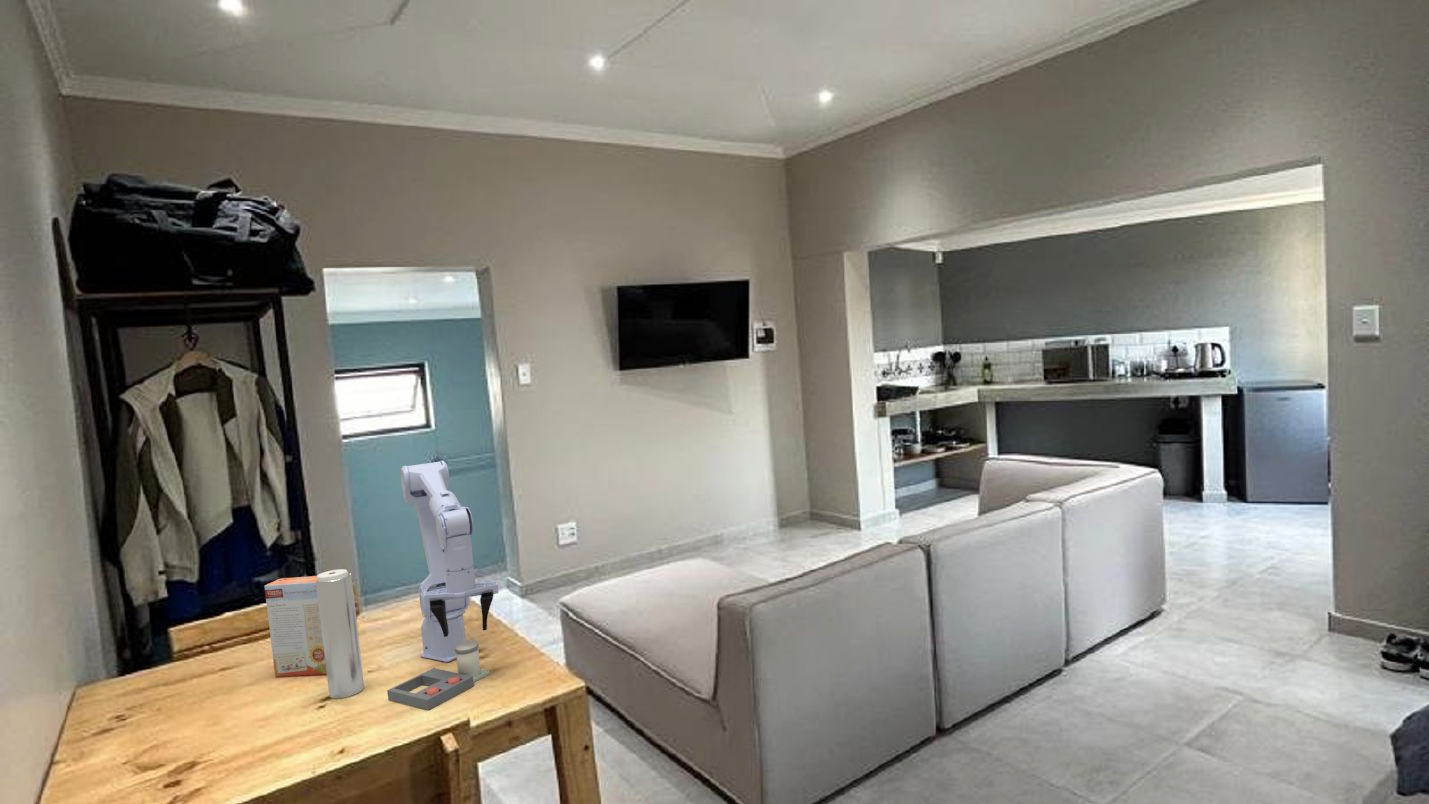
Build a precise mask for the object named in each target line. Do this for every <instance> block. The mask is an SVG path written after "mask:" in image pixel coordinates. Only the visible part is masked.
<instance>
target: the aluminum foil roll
mask: <svg viewBox="0 0 1429 804" xmlns="http://www.w3.org/2000/svg"><path fill="white" fill-rule="evenodd" d="M316 576H317V581H316V587H317V596H318V604H319V613H320V621H321V630H322V638H323V647H324V655H325V664H326V672H327V674H326V681H327V687H328V697H330V698H331V699H337V700H338V698H339V699H346V698H349V696H350V697H352V696H351V695H353V696H354V694H355V695H357V694H359V693H360V692H362V691H363V690H364V688H365V683H364V681H365V680H364V674H363V666H362V656H361V647H360V638H359V631H358V630H359V629H358V623H357V621H358V620H357V610H356V603H355V594H354V587H353V577H352V573H351V572H348V570H347V569H346V568H345V569H343V568H341V569H332V570H328V571H327V570H326V571H324V572H321V573H319V574H317V575H316ZM345 697H346V698H345Z"/></svg>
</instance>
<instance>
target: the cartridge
mask: <svg viewBox="0 0 1429 804" xmlns="http://www.w3.org/2000/svg"><path fill="white" fill-rule="evenodd" d="M455 653H456V664H457V665H456V667H457V673H459V674H464V675H469V676H473V678H474V677H477V676H478V675H480V673H481V670H482V669H481V662H480V653H479V642H478V640H475V639H469V640H467V639H466V641H463V642H460V643H458V644H457V645H456V646H455ZM480 669H481V670H480Z"/></svg>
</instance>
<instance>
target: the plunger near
mask: <svg viewBox="0 0 1429 804" xmlns="http://www.w3.org/2000/svg"><path fill="white" fill-rule="evenodd" d="M438 692H439V687H431V688H429V689H427V695H431V696H432V695H434V694H436V693H438Z"/></svg>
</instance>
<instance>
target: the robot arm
mask: <svg viewBox="0 0 1429 804" xmlns="http://www.w3.org/2000/svg"><path fill="white" fill-rule="evenodd" d="M399 474H400V475H399V476H400V484H401V489H402V494H403V498H404V501H405V504H406V505H409V506H413V508H414V510H415V512H416V515H417V516H416V517H417V519H418V523H419V524H418V525H419V529H420V534H421V539H422V545H423V550H424V555H425V556H424V557H425V560H426V565H427V570H428V571H427V572H428V576H426V577H425V579H424V580H423V581H422V582H421V583H420V585H419V588H418V594H419V606H420V607H419V608H420V612H421V614H422V616H423V620H422V623H421V627H420V632H421V641H422V648H423V649H422V651H423V653H421V654H420V657H421V658H426V659H431V660H434V661H440V662H445V663H449V662H452V661H454V660H457V658H456V653H455V646H456V645H457V644H458V643H460V642H463V641H467V638H466V629H465V628H466V627H465V620H464V619H465V618H464V614H466V610H468V608H469V606H470V602H471V600H470V599H471V598H472V597H477V596H480V598H479V602H480V608H481V617H482V620H481V621H482V631H487V629H488V616H489V612H490V609H491V605H492V603H493V600H494V595H496V594H499V592H500V591H499V583H498V581H495V582H484V583H482V582H479V583H476V576H475V567H474V566H475V565H474V559H473V558H474V557H473V548H472V547H473V546H472V538H471V537H472V535H473V534H474V521H473V516H472V512H471V510H470V508H469V507H468V506H462V505H461V503H460V502H459V500H458V498H457V496H456V495H455V494H454V492H452V491H451V490H449V489H448V488H449V483H450V471H449V467H448V464H447V463H446V462H445V461H444V460H439V461H434V462H428V463H421V464H414V465H402V467H401V469H400V473H399ZM470 535H471V536H470Z"/></svg>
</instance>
